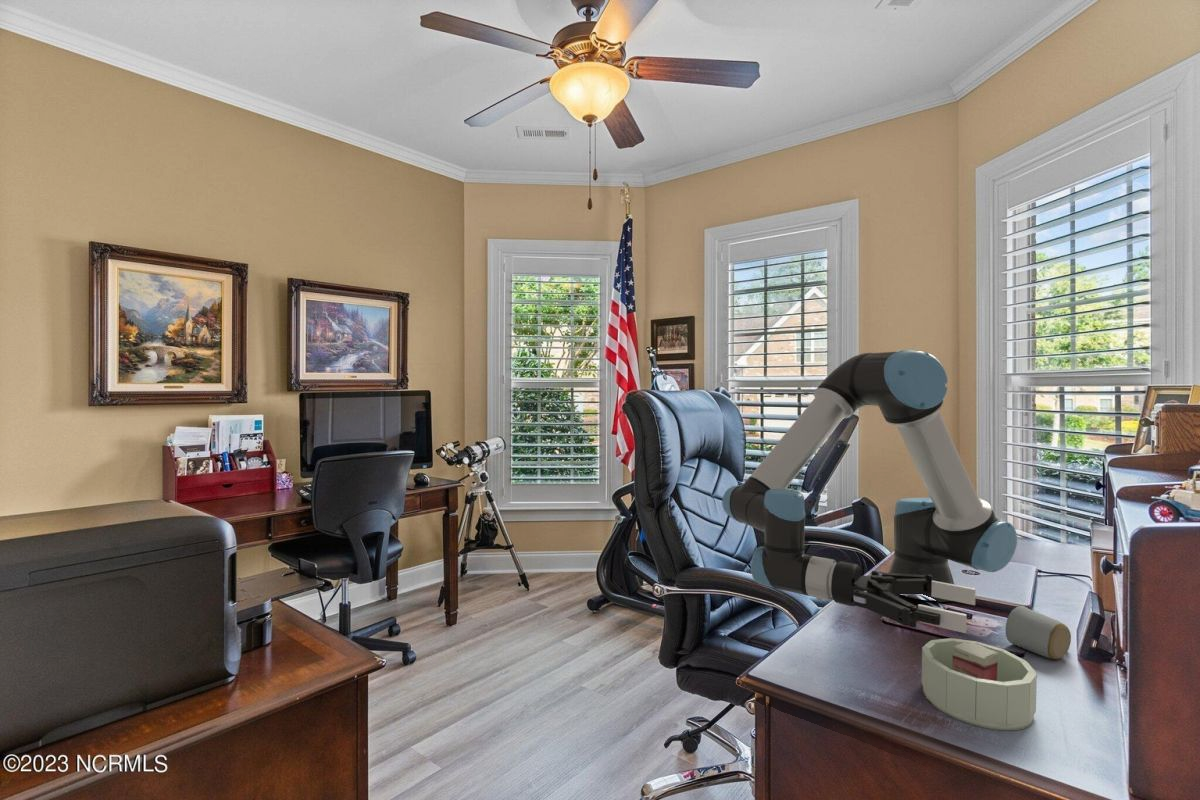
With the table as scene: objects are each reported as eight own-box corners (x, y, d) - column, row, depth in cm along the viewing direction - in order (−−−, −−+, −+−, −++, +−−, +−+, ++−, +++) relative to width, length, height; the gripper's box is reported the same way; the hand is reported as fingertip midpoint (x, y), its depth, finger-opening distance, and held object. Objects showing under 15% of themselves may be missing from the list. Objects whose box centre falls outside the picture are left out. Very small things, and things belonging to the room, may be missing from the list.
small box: (950, 692, 94) (951, 645, 93) (965, 685, 96) (966, 639, 95) (983, 707, 89) (984, 658, 89) (997, 700, 91) (998, 651, 91)
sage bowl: (902, 682, 98) (903, 643, 98) (976, 673, 101) (977, 635, 101) (975, 736, 84) (976, 689, 83) (1059, 724, 86) (1060, 679, 86)
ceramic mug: (1051, 666, 104) (1053, 624, 104) (1003, 646, 111) (1004, 608, 111) (1082, 654, 108) (1084, 615, 108) (1034, 637, 116) (1035, 600, 116)
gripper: (853, 582, 115) (977, 607, 102) (813, 623, 96) (961, 662, 83) (853, 545, 115) (978, 566, 102) (813, 579, 96) (962, 611, 82)
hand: (971, 609), depth 92 cm, fingers open, 13 cm apart
